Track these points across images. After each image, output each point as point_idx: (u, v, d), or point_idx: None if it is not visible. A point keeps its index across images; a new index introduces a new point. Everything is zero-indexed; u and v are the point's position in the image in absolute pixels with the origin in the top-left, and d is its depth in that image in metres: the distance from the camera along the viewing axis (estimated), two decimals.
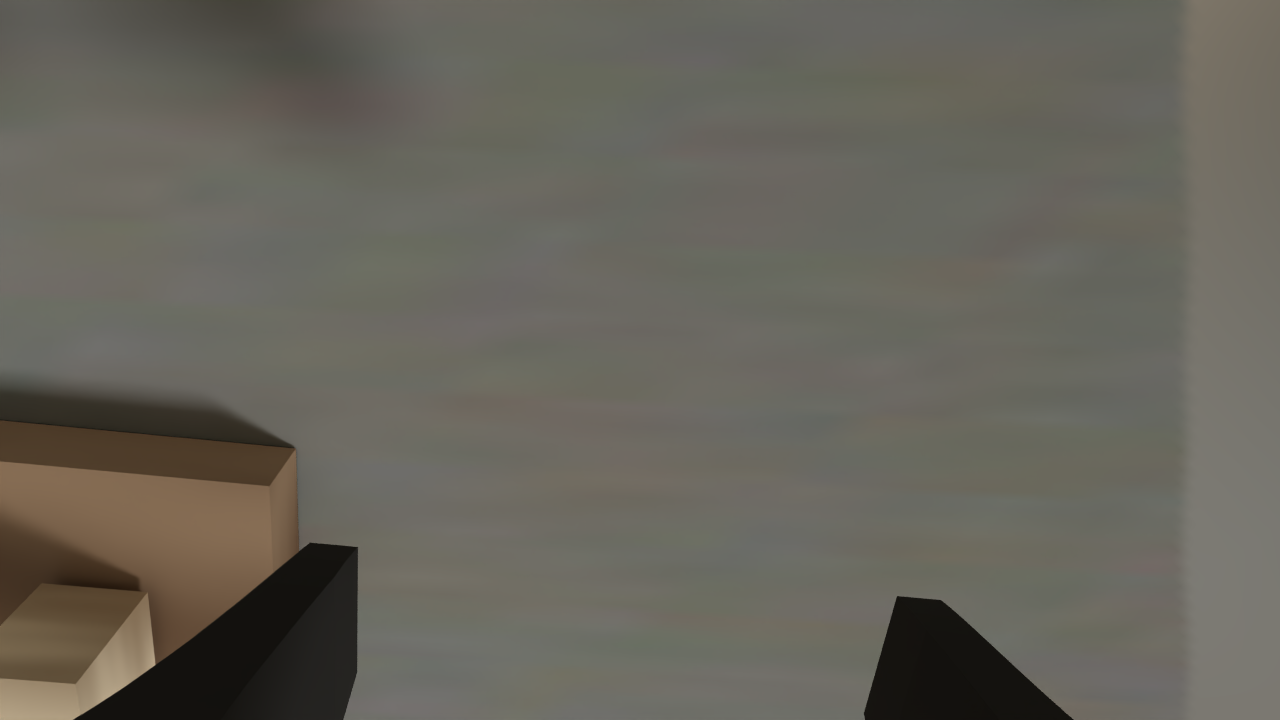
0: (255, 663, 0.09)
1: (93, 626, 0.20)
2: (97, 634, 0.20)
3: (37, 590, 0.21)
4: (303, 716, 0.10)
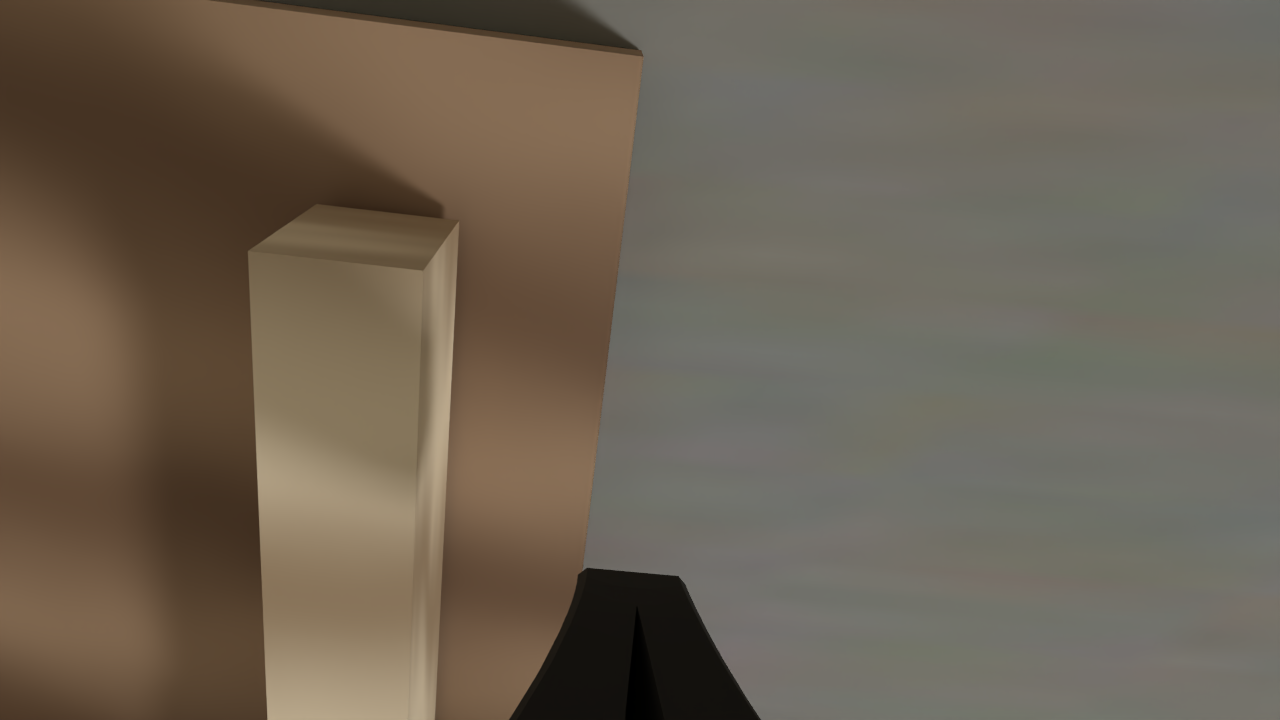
0: (619, 692, 0.09)
1: (409, 235, 0.14)
2: (420, 241, 0.14)
3: (315, 207, 0.15)
4: None
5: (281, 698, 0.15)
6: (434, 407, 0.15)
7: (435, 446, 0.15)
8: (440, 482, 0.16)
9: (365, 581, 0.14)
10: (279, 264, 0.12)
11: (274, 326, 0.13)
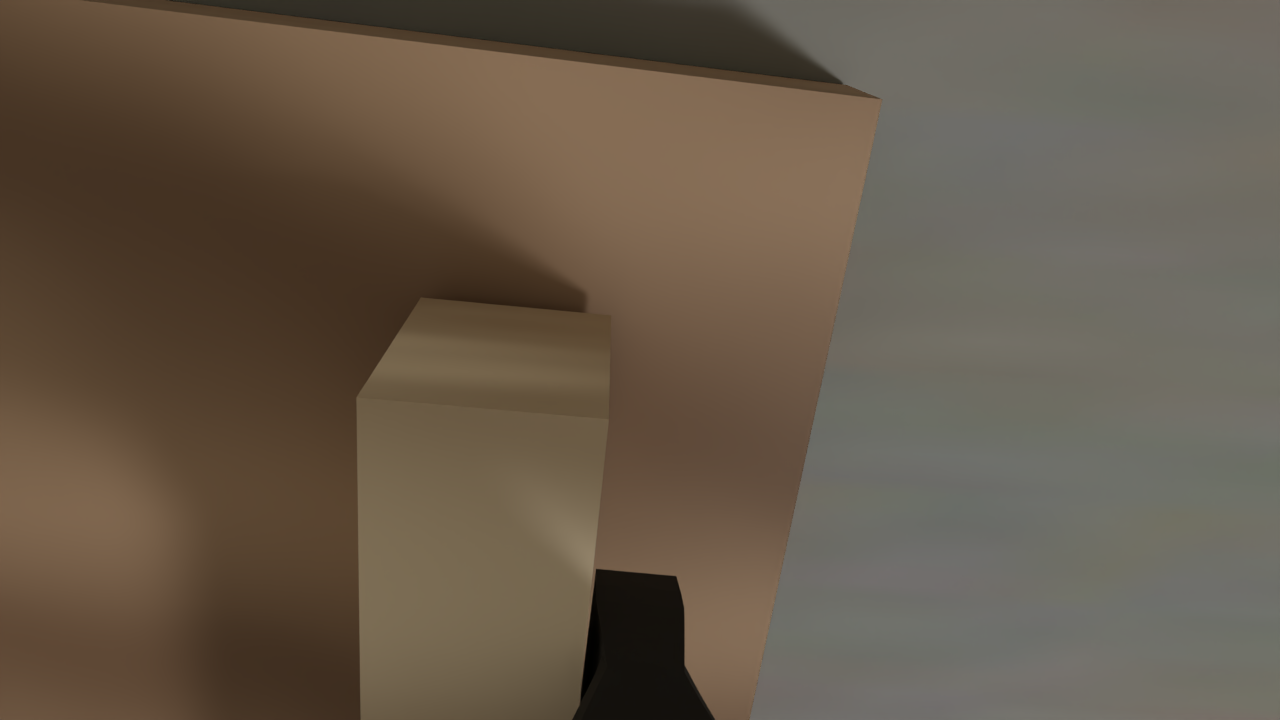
0: (676, 697, 0.09)
1: (561, 349, 0.10)
2: (579, 358, 0.10)
3: (421, 304, 0.11)
4: None
5: None
6: None
7: None
8: None
9: None
10: (401, 414, 0.09)
11: (391, 498, 0.09)
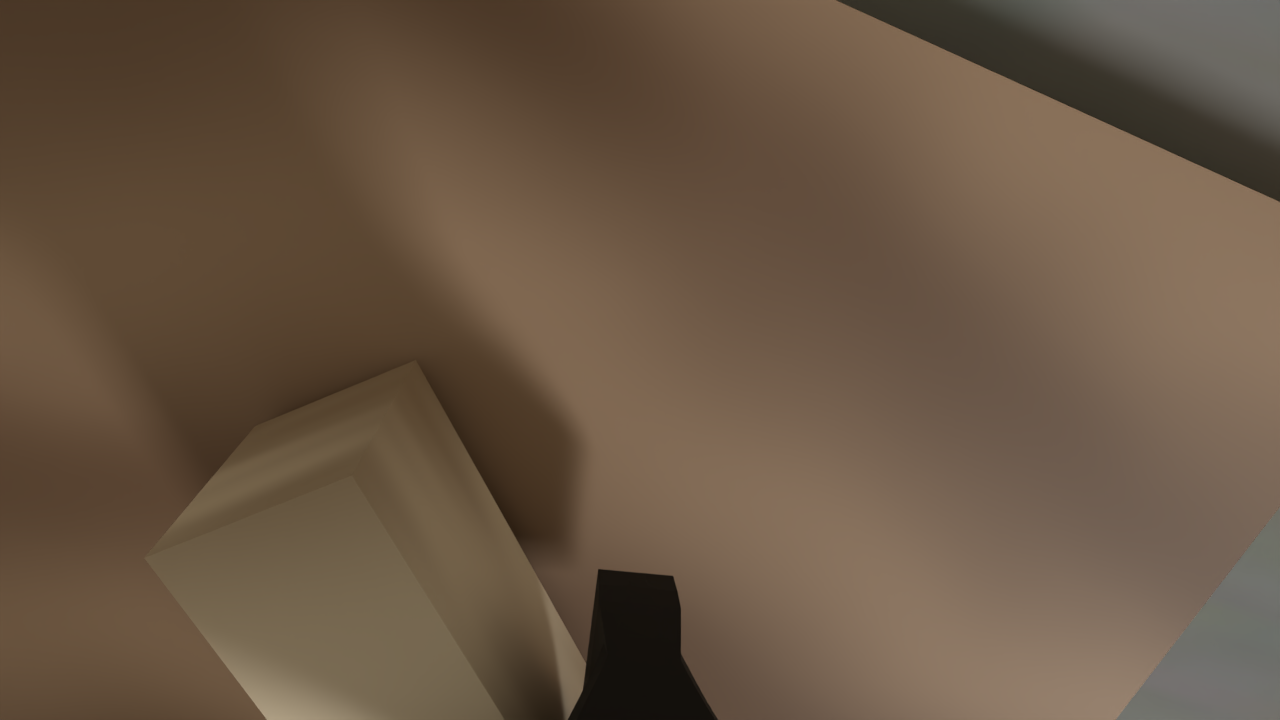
0: (673, 697, 0.09)
1: (350, 419, 0.10)
2: (361, 421, 0.10)
3: (250, 433, 0.12)
4: None
5: None
6: (495, 600, 0.11)
7: (526, 639, 0.12)
8: (565, 664, 0.13)
9: None
10: (188, 554, 0.09)
11: (230, 625, 0.09)
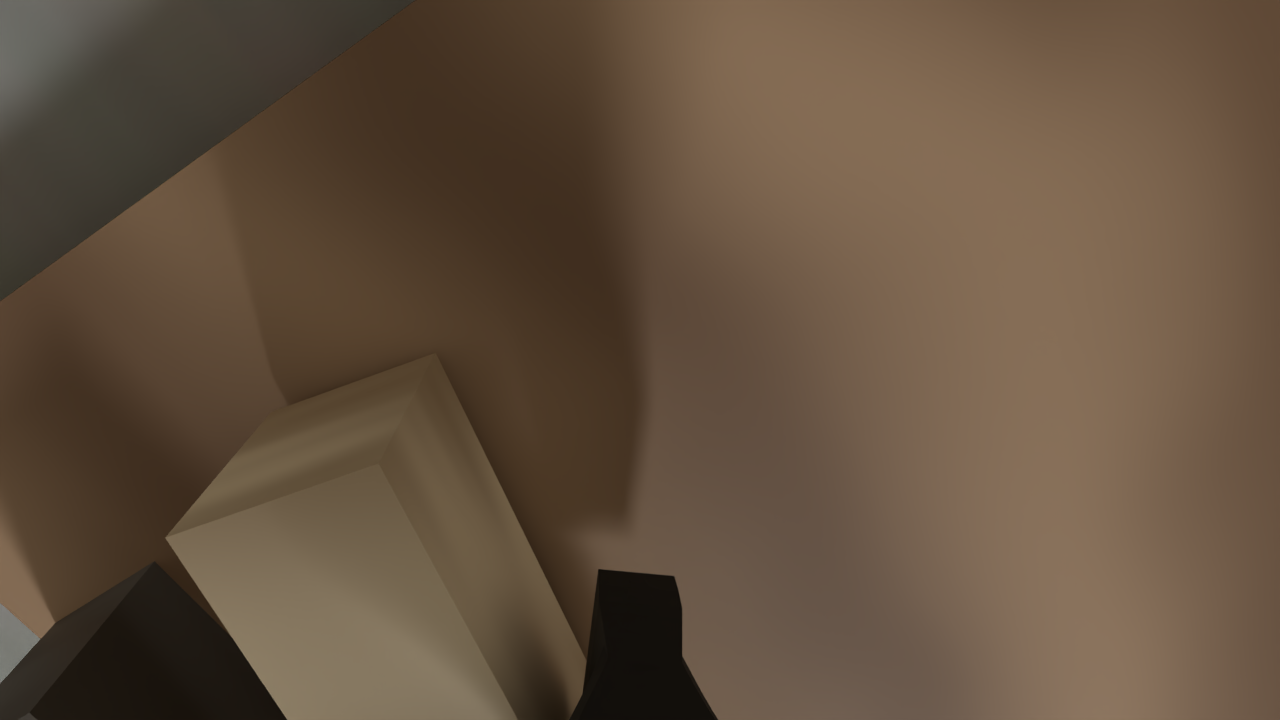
0: (674, 697, 0.09)
1: (372, 408, 0.10)
2: (383, 410, 0.10)
3: (267, 419, 0.12)
4: None
5: None
6: (505, 594, 0.11)
7: (534, 634, 0.12)
8: (569, 661, 0.13)
9: None
10: (209, 535, 0.09)
11: (247, 609, 0.09)
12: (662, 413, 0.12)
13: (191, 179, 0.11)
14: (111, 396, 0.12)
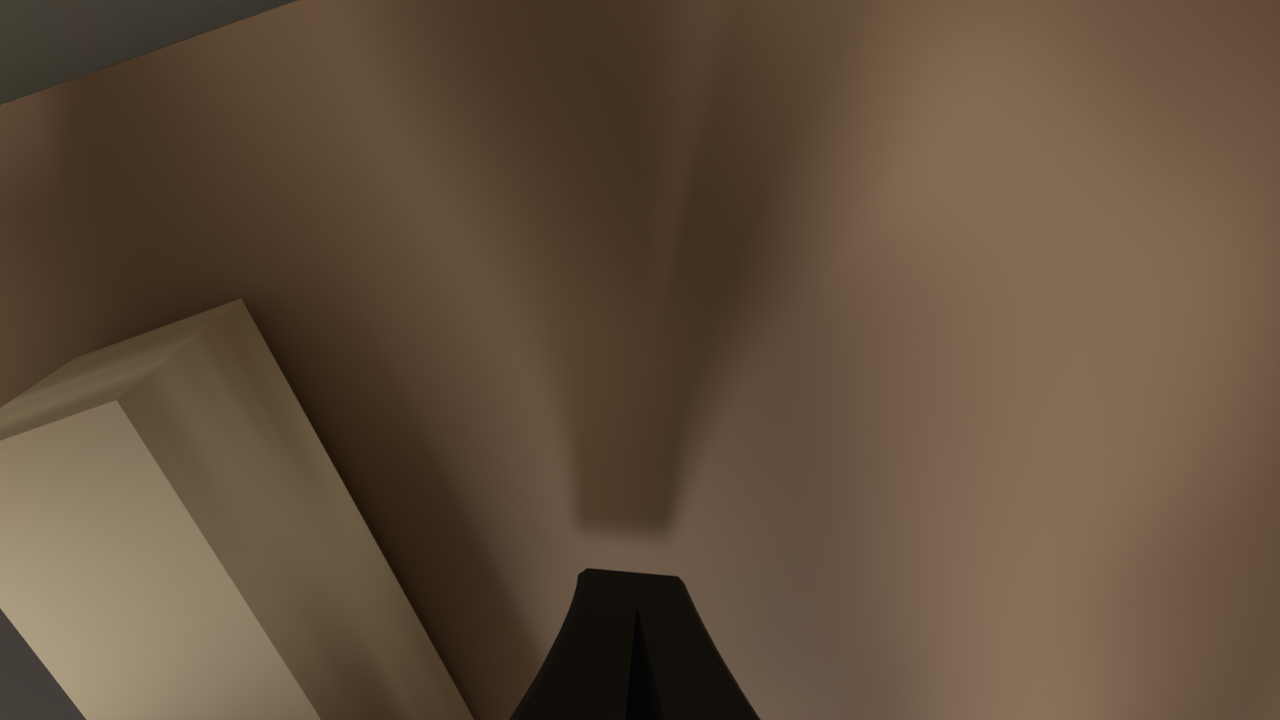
0: (619, 693, 0.09)
1: (151, 351, 0.10)
2: (159, 352, 0.10)
3: (65, 364, 0.11)
4: None
5: None
6: (302, 549, 0.11)
7: (340, 592, 0.11)
8: (392, 623, 0.12)
9: None
10: None
11: None
12: (700, 386, 0.12)
13: (291, 18, 0.10)
14: (132, 225, 0.11)
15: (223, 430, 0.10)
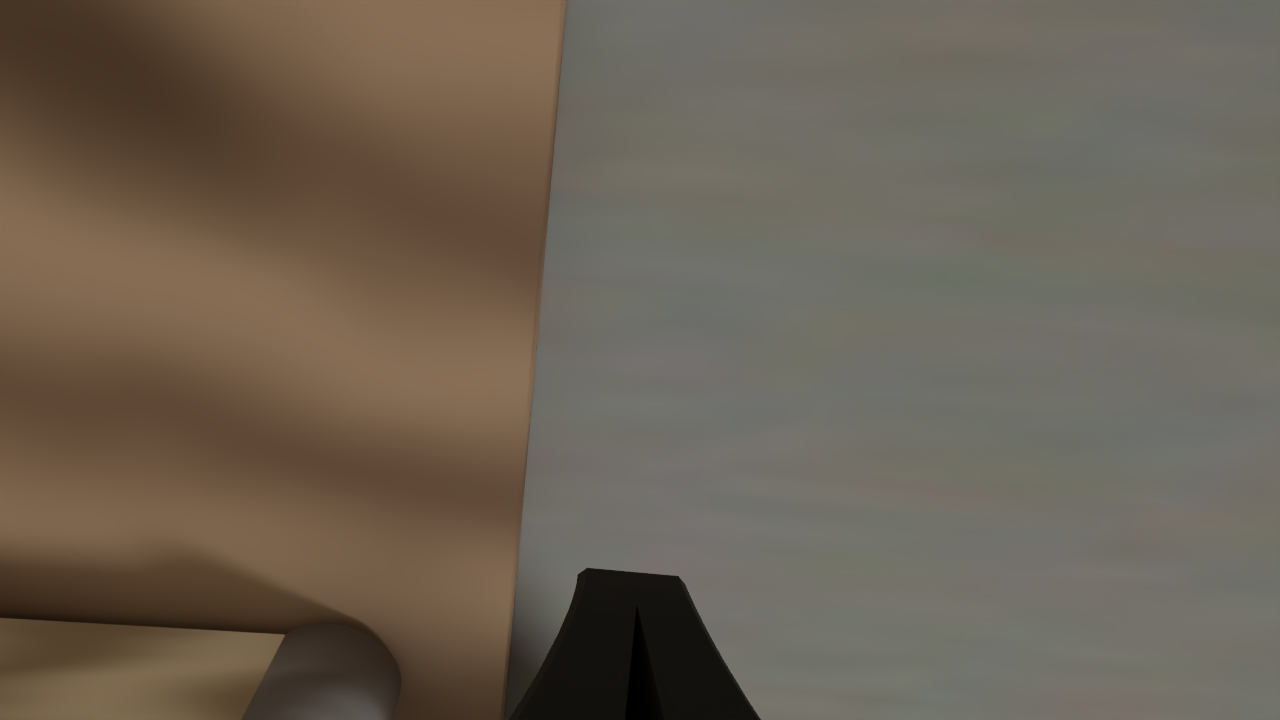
0: (619, 693, 0.09)
1: None
2: None
3: None
4: None
5: None
6: None
7: None
8: None
9: None
10: None
11: None
12: None
13: None
14: None
15: None
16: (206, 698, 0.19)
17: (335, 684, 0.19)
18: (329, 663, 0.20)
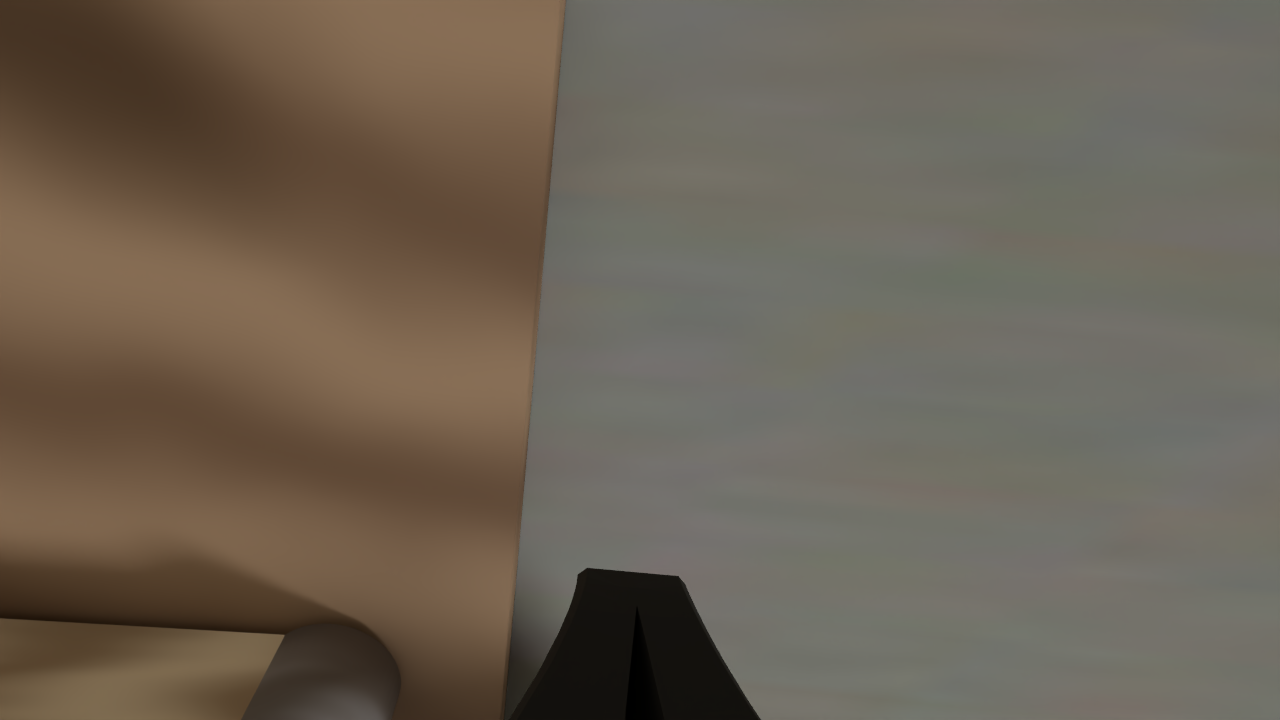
0: (620, 693, 0.09)
1: None
2: None
3: None
4: None
5: None
6: None
7: None
8: None
9: None
10: None
11: None
12: None
13: None
14: None
15: None
16: (206, 698, 0.19)
17: (335, 685, 0.19)
18: (329, 663, 0.20)
